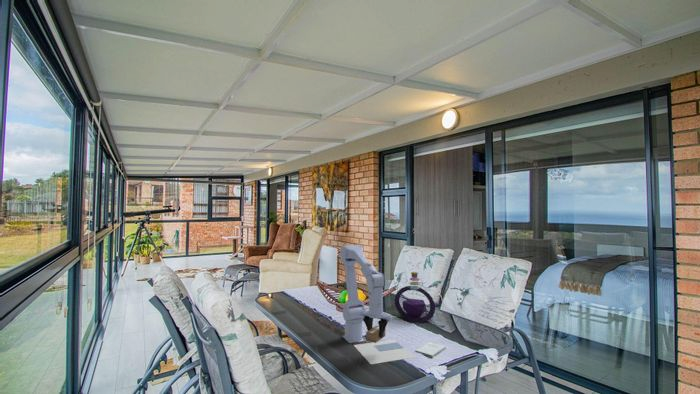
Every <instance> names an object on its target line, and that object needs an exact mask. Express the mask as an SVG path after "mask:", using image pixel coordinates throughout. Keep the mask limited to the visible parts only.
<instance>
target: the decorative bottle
mask: <svg viewBox="0 0 700 394" xmlns="http://www.w3.org/2000/svg"><path fill="white" fill-rule="evenodd" d="M418 273H419V272H417V271H411V272H410V274H411V277H410V278H409V281H410V282H409V285H408V286H403V287H402V288H400V289H399V290H397V292H396V293H395V296H394V306H395V308H396V310H397V312H398V313H399V315H400V316H402V317H403V318H404V319H405V320H408V321H410V322H412V323H419V324H420V323H425V322H428V321H430V320H431V319H432V318H433V317H434V315H435V312H436V303H435V300H434V299H433V297H432V296H431V294H430V293H429V292H427V290H426V289H423V288H421V287H419V285H420V283H419V281H420V278H418V275H419V274H418ZM408 291H417V292H419V293H421V294H422V295H424V296H425V297H426V299H427V300H428V303H429V310H427V307H426V302H425V301H424V300H425V299H418V298H417V299H416V298H409V297H407V296H405V295H404V293H406V292H408ZM401 297H403V298H404V299H405V300H403V301H402V307H401V304H400V299H401ZM425 312H426V313H427V314H426V315H423V314H425Z"/></svg>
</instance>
